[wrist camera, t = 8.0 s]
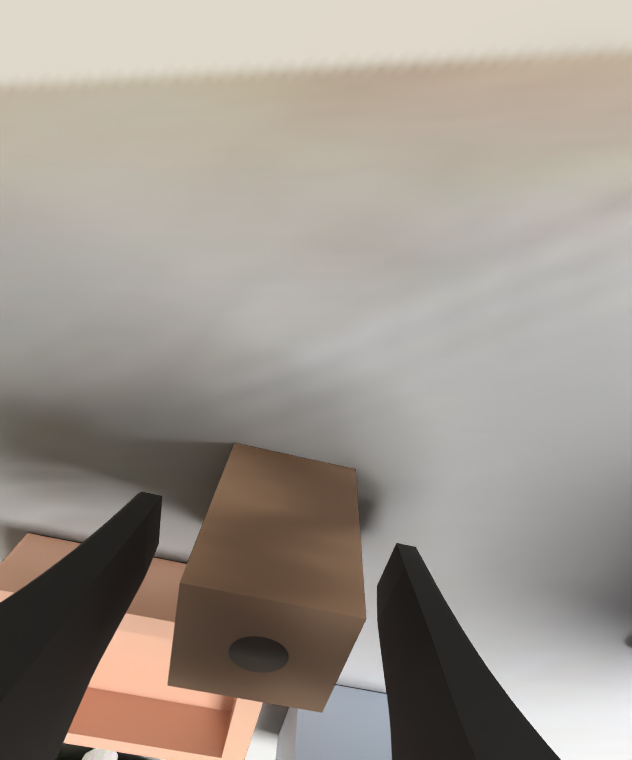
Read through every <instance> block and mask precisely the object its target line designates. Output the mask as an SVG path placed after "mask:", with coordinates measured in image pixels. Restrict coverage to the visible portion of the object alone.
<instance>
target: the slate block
mask: <svg viewBox="0 0 632 760" xmlns="http://www.w3.org/2000/svg"><path fill="white" fill-rule="evenodd" d="M276 760H392V752H391V731H390V719H389V709H388V701H387V694H383V693H377V692H372V691H366V690H361V689H355V688H350V687H344V686H338V685H335V687H334V689H333V691H332V693H331V695H330V697H329V699H328V701H327V704H326V706H325V708H324V710H323V712H322V713H320V712H314V711H309V710H303V709H297V708H292V707H289V709H288V711H287V714H286V717H285V719H284V722H283V725H282V727H281V730H280V733H279V735H278V743H277V752H276Z"/></svg>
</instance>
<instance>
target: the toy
mask: <svg viewBox="0 0 632 760" xmlns="http://www.w3.org/2000/svg"><path fill="white" fill-rule="evenodd" d="M82 760H118V754H117V752H116V751H110V750H104V749H97V748H95V749H93V750H91V751H89V752H87V753H86V754H85V755H84V757H83V758H82Z"/></svg>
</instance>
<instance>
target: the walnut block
mask: <svg viewBox="0 0 632 760" xmlns="http://www.w3.org/2000/svg"><path fill="white" fill-rule="evenodd" d="M365 620H366V607H365V593H364V579H363V565H362V551H361V537H360V524H359V510H358V496H357V482H356V469H353V468H348V467H344V466H339V465H334V464H330V463H325V462H321V461H316V460H311V459H307V458H302V457H298V456H293V455H288V454H284V453H279V452H275V451H270V450H266V449H261V448H256V447H252V446H247V445H243V444H238V443H234V445H233V448H232V450H231V453H230V455H229V458H228V460H227V463H226V466H225V468H224V471H223V473H222V476H221V478H220V481H219V483H218V486H217V489H216V491H215V494H214V496H213V499H212V501H211V504H210V506H209V509H208V511H207V514H206V517H205V519H204V522H203V524H202V527H201V529H200V532H199V534H198V537H197V540H196V542H195V545H194V547H193V550H192V552H191V555H190V557H189V560H188V563H187V565H186V568H185V570H184V573H183V575H182V578H181V580H180V584H179V592H178V600H177V609H176V617H175V625H174V634H173V642H172V650H171V658H170V667H169V675H168V683H167V686H172V687H178V688H184V689H189V690H195V691H201V692H206V693H212V694H218V695H223V696H229V697H235V698H240V699H246V700H252V701H257V702H263V703H269V704H274V705H280V706H286V707H292V708H297V709H303V710H309V711H314V712H320V713H322V712H323V710H324V708H325V706H326V704H327V701H328V699H329V697H330V695H331V693H332V691H333V689H334V687H335V684H336V682H337V680H338V678H339V676H340V674H341V672H342V669H343V667H344V665H345V663H346V661H347V659H348V657H349V655H350V652H351V650H352V648H353V646H354V644H355V642H356V640H357V638H358V635H359V633H360V631H361V629H362V627H363V625H364V623H365Z"/></svg>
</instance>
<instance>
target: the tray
mask: <svg viewBox="0 0 632 760" xmlns="http://www.w3.org/2000/svg"><path fill="white" fill-rule="evenodd" d="M80 544H81V543H76V542H71V541H66V540H61V539H56V538H50V537H45V536H40V535H35V534H30V533H27V534H26V535H25V536H24V537H23V539H22V540H21V541H20V542H19V543H18V544H17V545H16V546H15V548H14V549H13V550H12V551H11V552H10V553H9V554H8V556H7V557H6V558H5V559H4V560H3V561H2V562H1V563H0V602H2V601H3V600H5V599H6V598H8V597H9V596H11V595H12V594H14V593H15V592H17V591H18V590H20V589H21V588H22V587H24V586H25V585H27V584H28V583H30V582H31V581H32V580H34V579H35V578H37V577H38V576H39V575H41V574H42V573H44V572H45V571H46V570H48V569H49V568H50V567H52V566H53V565H54V564H56V563H57V562H58V561H60V560H61V559H62V558H63V557H65V556H66V555H67V554H69V553H70V552H71V551H73V550H74V549H75V548H76V547H78V546H79V545H80ZM186 565H187V564H185V563H180V562H174V561H169V560H164V559H159V558H154V557H153V559H152V562H151V564H150V566H149V569H148V571H147V574H146V576H145V578H144V580H143V582H142V584H141V586H140V588H139V590H138V592H137V593H136V595H135V597H134V599H133V601H132V603H131V605H130V607H129V608H128V610H127V612H126V614H125V616H124V618H123V619H122V621H121V623H120V625H119V627H118V629H117V630H116V632H115V634H114V636H113V638H112V640H111V642H110V643H109V645H108V647H107V649H106V651H105V653H104V654H103V656H102V658H101V660H100V662H99V664H98V666H97V668H96V670H95V672H94V674H93V676H92V678H91V680H90V683H89V685H88V687H87V690H86V692H85V694H84V696H83V699H82V701H81V703H80V705H79V708H78V710H77V712H76V714H75V717H74V719H73V721H72V723H71V726H70V728H69V730H68V733H67V735H66V737H65V740H64V742H63V743H67V744H73V745H79V746H85V747H91V748H97V749H104V750H110V751H116V752H122V753H128V754H134V755H140V756H146V757H153V758H159V759H165V760H245V757H246V754H247V751H248V748H249V745H250V742H251V739H252V735H253V732H254V729H255V726H256V723H257V720H258V717H259V714H260V711H261V707H262V704H263V702H257V701H252V700H246V699H240V698H235V697H229V696H223V695H218V694H212V693H206V692H201V691H195V690H189V689H184V688H178V687H172V686H167V683H168V675H169V667H170V658H171V650H172V642H173V634H174V625H175V617H176V609H177V600H178V592H179V584H180V580H181V578H182V575H183V573H184V570H185V568H186Z"/></svg>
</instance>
